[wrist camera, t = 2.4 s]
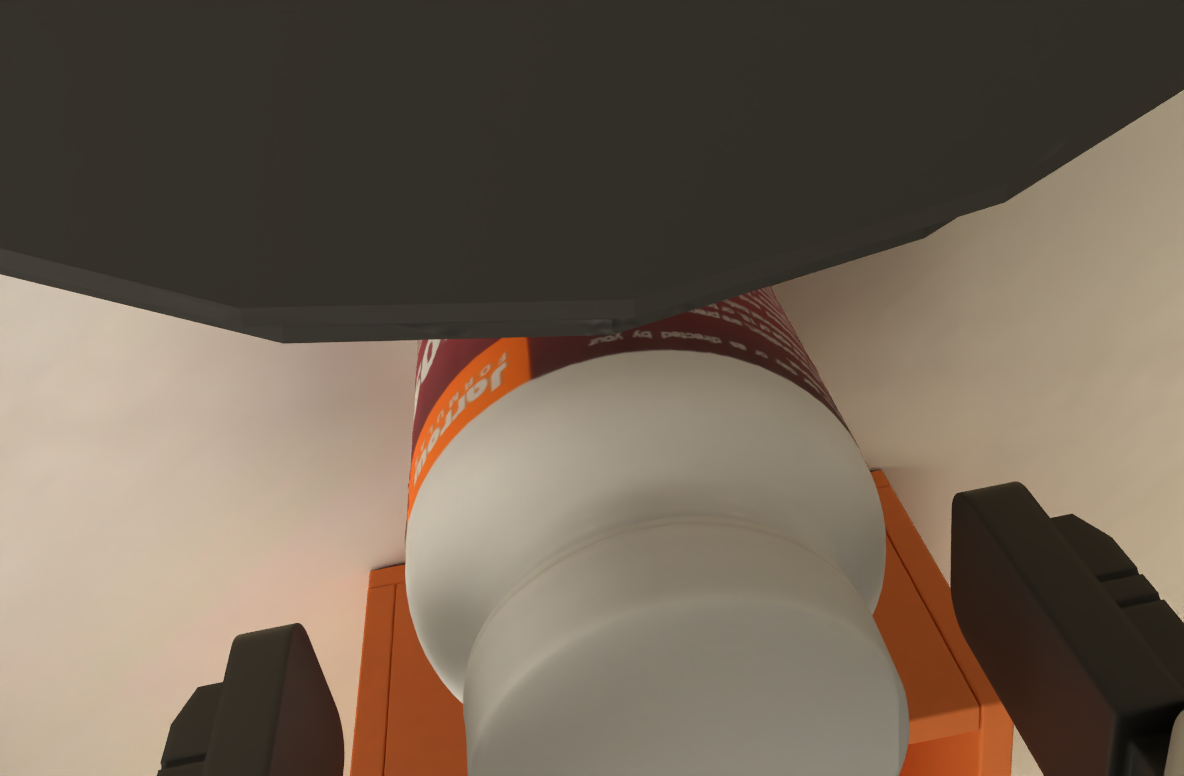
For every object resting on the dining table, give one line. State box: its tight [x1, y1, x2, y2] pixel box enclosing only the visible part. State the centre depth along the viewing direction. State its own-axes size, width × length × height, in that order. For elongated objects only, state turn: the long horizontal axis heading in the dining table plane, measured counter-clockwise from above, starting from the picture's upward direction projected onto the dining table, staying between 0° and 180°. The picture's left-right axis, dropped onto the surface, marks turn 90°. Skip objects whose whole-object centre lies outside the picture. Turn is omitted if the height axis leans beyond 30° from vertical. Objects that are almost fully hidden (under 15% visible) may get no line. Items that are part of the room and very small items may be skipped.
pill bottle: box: [405, 286, 910, 776], centre depth 16 cm, size 6×6×11 cm
